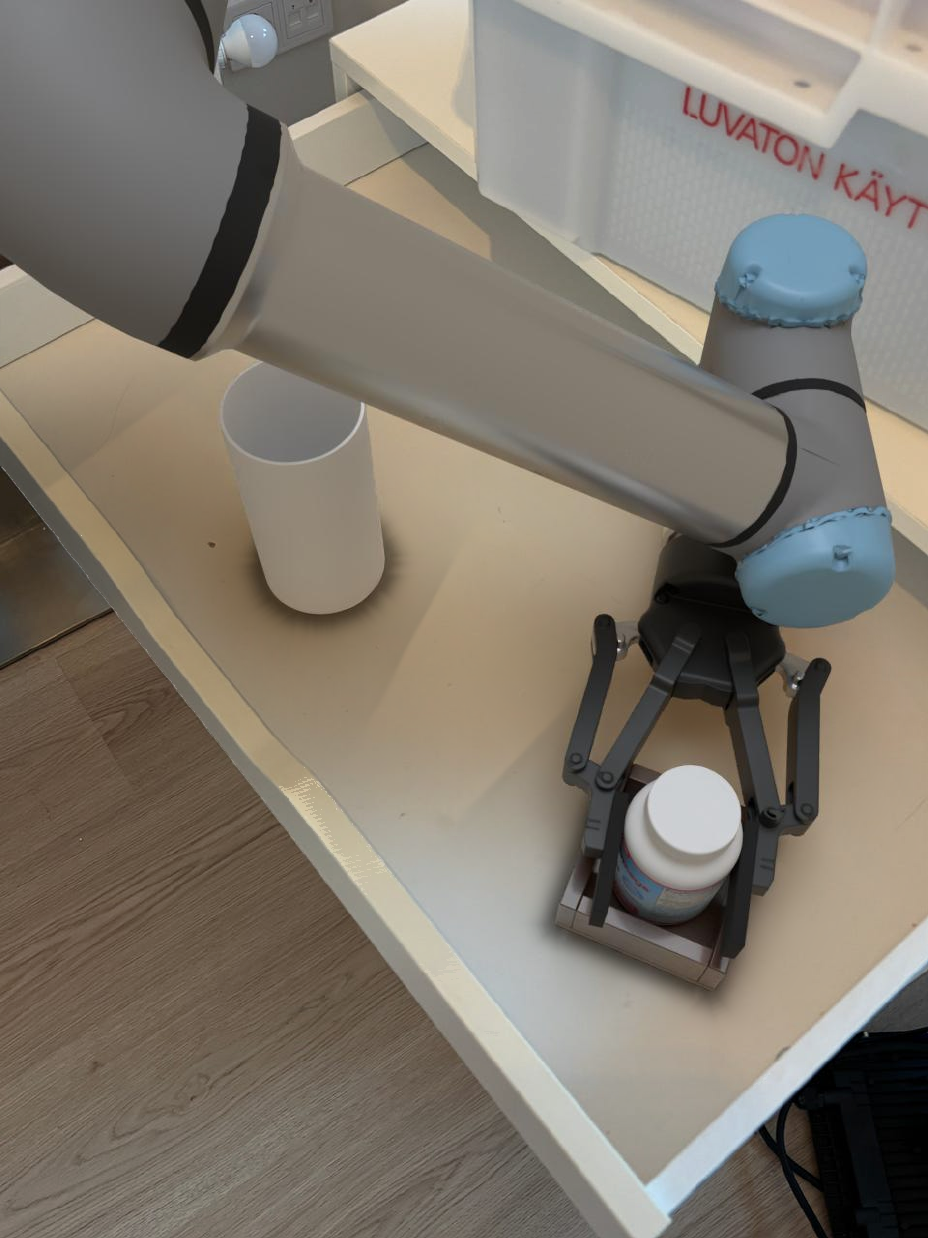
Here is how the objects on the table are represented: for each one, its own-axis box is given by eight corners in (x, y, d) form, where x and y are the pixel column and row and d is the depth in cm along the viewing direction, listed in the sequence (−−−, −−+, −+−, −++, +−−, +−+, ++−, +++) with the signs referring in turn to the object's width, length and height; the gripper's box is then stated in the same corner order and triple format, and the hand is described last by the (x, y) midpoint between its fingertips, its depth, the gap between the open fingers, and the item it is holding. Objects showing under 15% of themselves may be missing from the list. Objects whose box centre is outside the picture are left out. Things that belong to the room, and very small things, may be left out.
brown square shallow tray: (554, 924, 65) (558, 903, 62) (610, 782, 70) (617, 756, 66) (712, 991, 63) (726, 974, 60) (759, 842, 68) (775, 818, 64)
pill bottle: (601, 831, 67) (622, 755, 57) (703, 822, 67) (742, 744, 57) (617, 934, 64) (642, 873, 54) (724, 924, 64) (769, 861, 54)
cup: (322, 637, 75) (288, 491, 61) (238, 565, 78) (187, 410, 64) (409, 558, 78) (395, 403, 64) (325, 493, 81) (295, 330, 67)
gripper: (864, 622, 71) (835, 997, 60) (562, 563, 73) (479, 912, 62) (904, 556, 64) (880, 962, 53) (570, 493, 67) (480, 869, 55)
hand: (664, 934), depth 58 cm, fingers closed on pill bottle, 6 cm apart
